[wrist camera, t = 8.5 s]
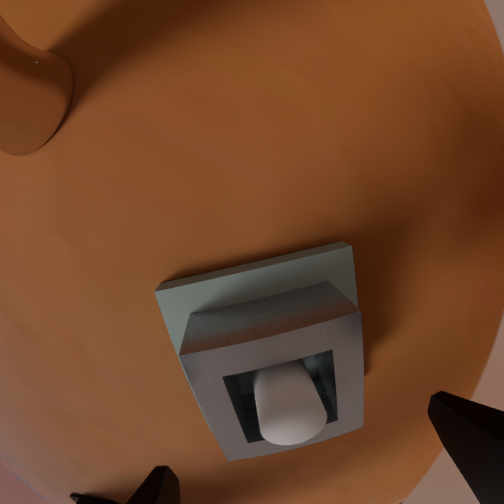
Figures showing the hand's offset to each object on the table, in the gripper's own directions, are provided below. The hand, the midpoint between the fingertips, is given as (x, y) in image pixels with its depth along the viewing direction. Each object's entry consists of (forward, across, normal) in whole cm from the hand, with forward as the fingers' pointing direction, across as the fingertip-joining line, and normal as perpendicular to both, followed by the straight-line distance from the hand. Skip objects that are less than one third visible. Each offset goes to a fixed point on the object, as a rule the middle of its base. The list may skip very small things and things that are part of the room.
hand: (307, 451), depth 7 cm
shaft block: (+7, 0, 0) cm, 7 cm away
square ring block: (+6, 0, 0) cm, 6 cm away
